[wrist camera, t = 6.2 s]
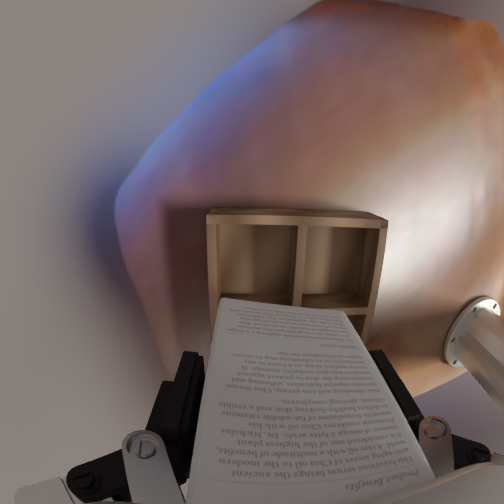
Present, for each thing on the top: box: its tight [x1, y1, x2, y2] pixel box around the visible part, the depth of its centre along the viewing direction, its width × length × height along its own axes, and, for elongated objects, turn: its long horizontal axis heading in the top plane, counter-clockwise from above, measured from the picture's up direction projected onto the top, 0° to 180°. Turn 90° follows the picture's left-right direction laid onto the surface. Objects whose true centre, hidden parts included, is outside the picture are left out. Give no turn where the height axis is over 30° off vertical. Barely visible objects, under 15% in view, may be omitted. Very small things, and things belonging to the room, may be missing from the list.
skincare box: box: [186, 298, 436, 504], centre depth 8 cm, size 6×4×12 cm
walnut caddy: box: [206, 208, 388, 347], centre depth 29 cm, size 16×18×4 cm
